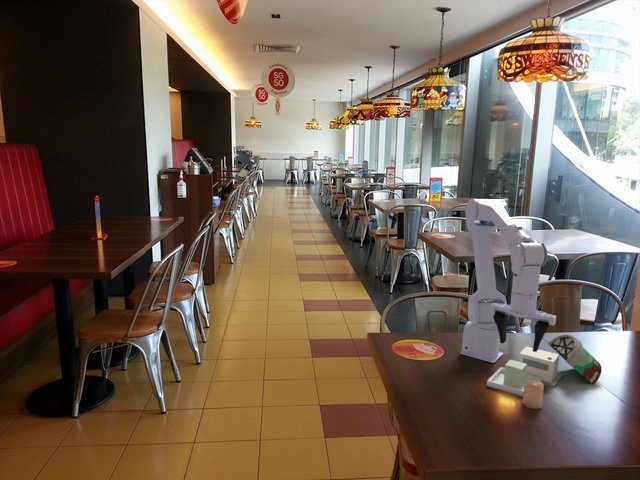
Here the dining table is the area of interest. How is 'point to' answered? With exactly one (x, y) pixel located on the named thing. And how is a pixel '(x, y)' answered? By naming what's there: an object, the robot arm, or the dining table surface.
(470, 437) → the dining table surface
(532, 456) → the dining table surface
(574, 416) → the dining table surface
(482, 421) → the dining table surface
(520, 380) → the green part
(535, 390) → the terracotta part
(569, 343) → the food container
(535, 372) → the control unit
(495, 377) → the tray
